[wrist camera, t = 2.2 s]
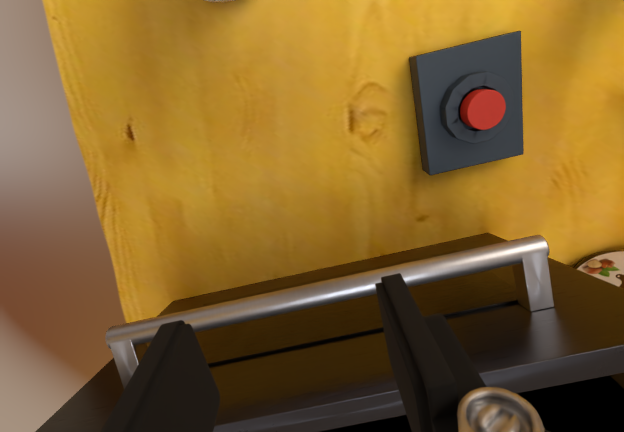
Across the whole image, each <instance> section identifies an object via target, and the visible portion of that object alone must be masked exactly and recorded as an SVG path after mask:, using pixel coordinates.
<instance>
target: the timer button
mask: <svg viewBox="0 0 624 432" xmlns="http://www.w3.org/2000/svg"><path fill="white" fill-rule="evenodd" d="M505 109H506V104H505V100H504V98H503V96H502V95H501V94H500V93H499V92H497V91H495V90H488V89H478V90H474V91H472V92H471V93H469V94H468V95H467V96H466V97H465V98H464V100H463V101H462V104H461V107H460V116H461V119H462V121H463V122H464V123H465V124H466V125H467V126H469V127H472V128H476V129H480V130H486V129H490V128H492V127H494V126H495V125H497V124H498V123H499V122H500V121H501V119H502V118H503V116H504V113H505Z"/></svg>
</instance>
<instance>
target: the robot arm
mask: <svg viewBox="0 0 624 432" xmlns="http://www.w3.org/2000/svg"><path fill="white" fill-rule="evenodd" d="M205 1H210V2H229V1H234V0H205ZM375 287H376V292H377V297H378V303H379V308H380V313H381V318H382V323H383V328H384V334H385V339H386V344H387V349H388V354H389V359H390V363H391V367H392V370H393V373H394V377H395V380H396V383H397V386H398V389H399V392H400V396H401V399H402V402H403V405H404V408H405V411H406V415H407V418H408V421H409V424H410V427H411V430H412V432H550V431H548V430H546V429H544V427H543V423H542V421H541V419H540V417H539V415H538V413H537V411H536V410H535V408H534V407H533V406H532V405H531V404H530V403H529V402H528V401H527V400H525V399H524V398H522V397H521V396H519V395H518V394H516V393H513V392H511V391H508V390H506V389H501V388H496V387H487V386H486V385H485V383H484V381H483V380H482V378H481V377H480V375H479V373H478V372H477V370H476V368H475V367H474V365H473V363H472V362H471V360H470V358H469V357H468V355H467V353H466V352H465V350H464V348H463V347H462V345H461V343H460V342H459V340H458V339H457V337H456V335H455V334H454V332H453V330H452V329H451V327H450V325H449V324H448V322H447V320H446V319H445V317H444V316H443V314H441V313H437V314H432V315H428V316H422V314H421V312H420V310H419V308H418V306H417V304H416V302H415V301H414V299H413V297H412V295H411V293H410V291H409V289H408V287H407V285H406V283H405V281H404V279H403V277H402V275H401V274H400V273H398V274H393V275H389V276H384V277H381V282H380V283H376V284H375ZM219 405H220V393H219V390H218V387H217V385H216V383H215V380H214V378H213V375H212V373H211V371H210V368H209V366H208V364H207V361H206V359H205V356H204V354H203V352H202V349H201V347H200V345H199V342H198V340H197V337H196V335H195V333H194V330H193V328H192V326H191V325H190V324H185V322H184V321H182V320H179V321H174V322H170V323H165V324H162V325H161V326H160V327H159V329H158V331H157V333H156V334H155V336H154V338H153V340H152V341H151V343H150V345H149V347H148V349H147V350H146V352H145V354H144V356H143V357H142V359H141V361H140V363H139V365H138V366H137V368H136V370H135V372H134V373H133V375H132V377H131V379H130V380H129V382H128V384H127V386H126V388H125V389H124V391H123V393H122V395H121V396H120V398H119V400H118V402H117V403H116V405H115V407H114V409H113V411H112V412H111V414H110V416H109V418H108V419H107V421H106V423H105V425H104V427H103V428H102V430H101V432H213V430H214V425H215V421H216V417H217V413H218V409H219Z"/></svg>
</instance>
